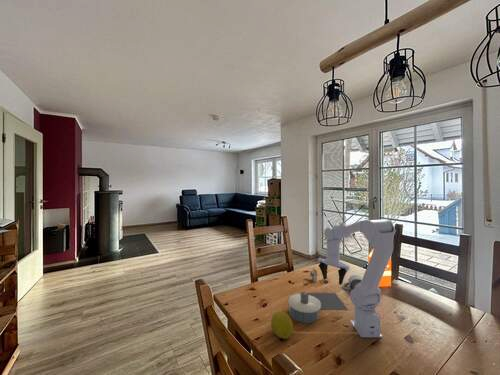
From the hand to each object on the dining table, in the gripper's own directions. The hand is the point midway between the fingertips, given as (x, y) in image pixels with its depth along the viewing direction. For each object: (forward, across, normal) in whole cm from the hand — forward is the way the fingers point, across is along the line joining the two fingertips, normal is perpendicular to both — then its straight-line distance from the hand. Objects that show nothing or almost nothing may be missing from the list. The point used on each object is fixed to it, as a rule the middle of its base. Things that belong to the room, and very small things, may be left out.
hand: (332, 281), depth 105 cm
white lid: (+5, +4, +18) cm, 19 cm away
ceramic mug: (+11, -2, -20) cm, 23 cm away
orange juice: (+11, -9, -39) cm, 41 cm away
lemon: (+11, +4, +35) cm, 36 cm away
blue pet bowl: (+10, +4, +18) cm, 22 cm away
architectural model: (+11, +19, -16) cm, 27 cm away
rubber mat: (+10, +3, +1) cm, 11 cm away
